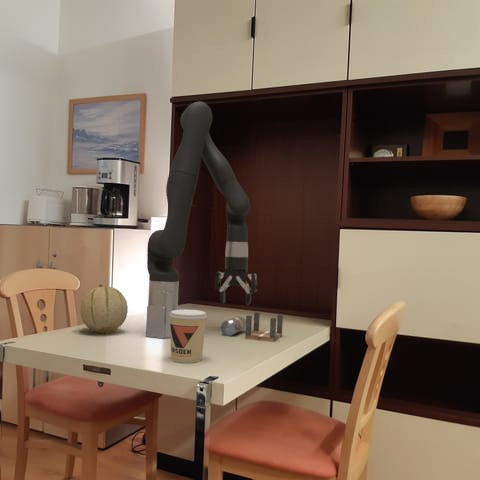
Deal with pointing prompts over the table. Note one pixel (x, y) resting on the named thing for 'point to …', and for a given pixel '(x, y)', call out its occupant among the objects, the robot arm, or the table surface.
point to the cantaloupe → (103, 309)
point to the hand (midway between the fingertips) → (235, 303)
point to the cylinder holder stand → (263, 335)
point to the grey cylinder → (233, 326)
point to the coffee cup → (187, 335)
